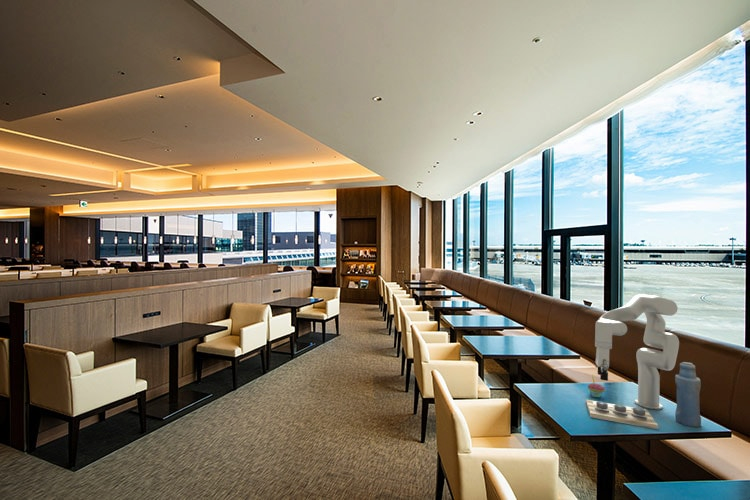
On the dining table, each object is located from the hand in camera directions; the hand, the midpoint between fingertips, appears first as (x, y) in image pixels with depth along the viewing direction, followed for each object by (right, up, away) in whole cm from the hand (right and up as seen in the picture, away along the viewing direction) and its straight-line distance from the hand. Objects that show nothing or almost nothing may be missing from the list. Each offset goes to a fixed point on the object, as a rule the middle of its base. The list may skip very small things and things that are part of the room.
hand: (602, 377), depth 187 cm
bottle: (+38, -20, -8) cm, 44 cm away
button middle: (+7, -16, -3) cm, 18 cm away
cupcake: (+13, -20, +26) cm, 35 cm away
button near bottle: (+14, -16, -7) cm, 22 cm away
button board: (+8, -20, -1) cm, 21 cm away
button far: (0, -16, 0) cm, 16 cm away
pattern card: (+11, -18, +5) cm, 21 cm away
